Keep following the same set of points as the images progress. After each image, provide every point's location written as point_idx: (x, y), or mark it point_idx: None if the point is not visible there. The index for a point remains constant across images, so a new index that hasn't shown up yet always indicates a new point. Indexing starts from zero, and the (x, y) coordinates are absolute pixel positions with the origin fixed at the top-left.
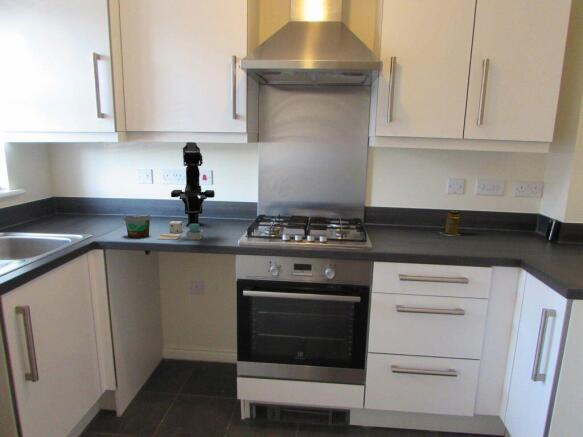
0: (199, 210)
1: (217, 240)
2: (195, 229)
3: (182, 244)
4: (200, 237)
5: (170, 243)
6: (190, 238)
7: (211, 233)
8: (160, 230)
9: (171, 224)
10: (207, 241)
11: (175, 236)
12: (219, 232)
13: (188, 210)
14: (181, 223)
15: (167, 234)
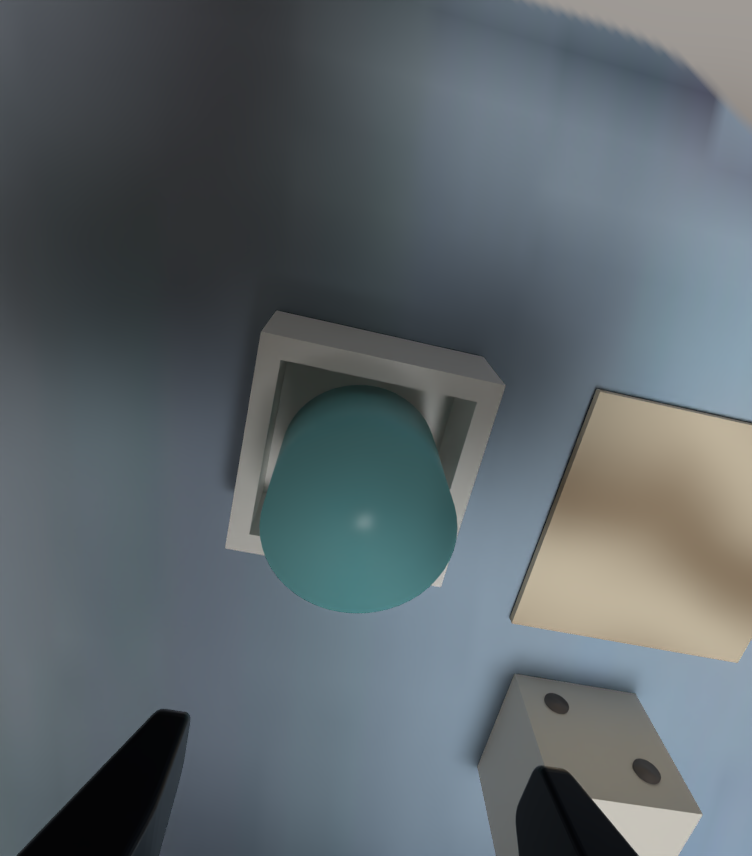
0: (130, 760)
1: (3, 177)
2: (342, 412)
3: (585, 51)
4: (273, 315)
5: (746, 172)
6: (426, 346)
7: (117, 596)
8: (705, 814)
9: (665, 793)
10: (170, 151)
11: (608, 513)
12: (8, 624)
13: (557, 828)
14: (507, 848)
15: (683, 625)
